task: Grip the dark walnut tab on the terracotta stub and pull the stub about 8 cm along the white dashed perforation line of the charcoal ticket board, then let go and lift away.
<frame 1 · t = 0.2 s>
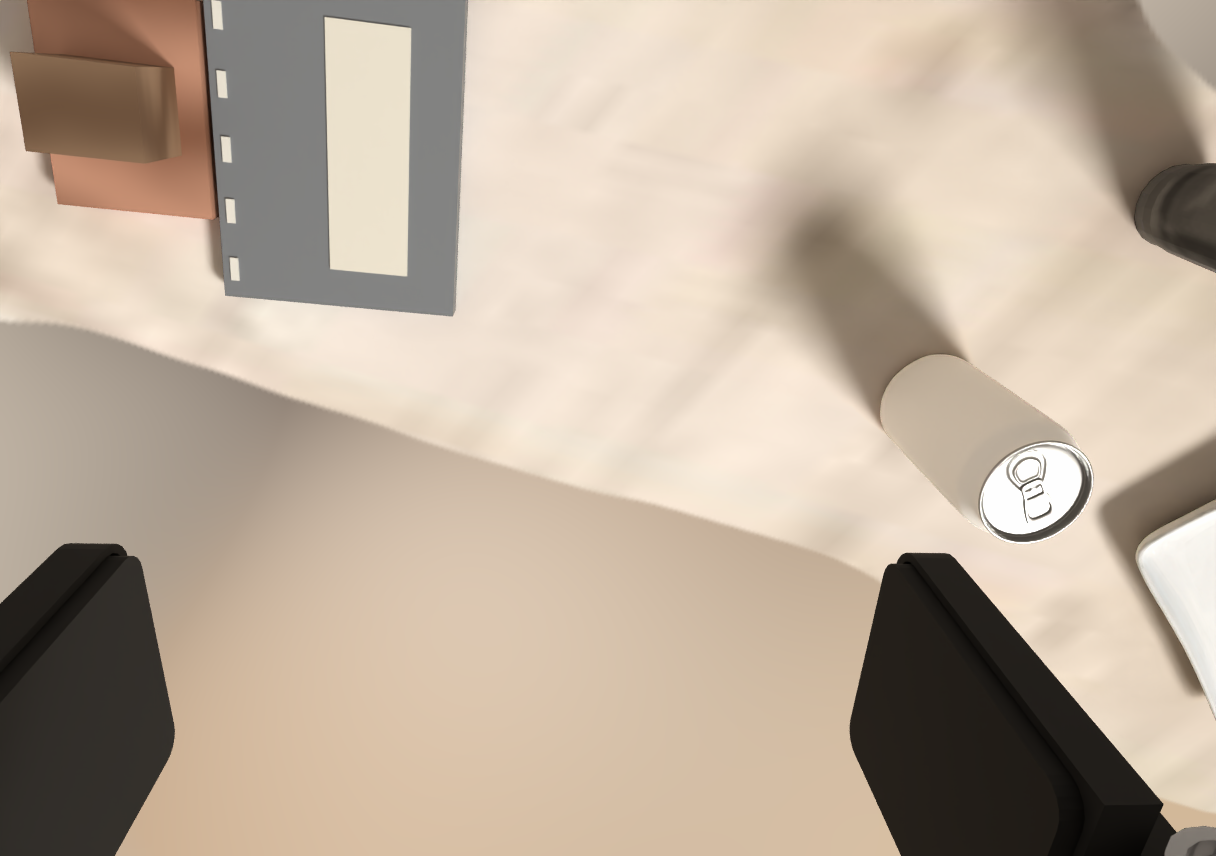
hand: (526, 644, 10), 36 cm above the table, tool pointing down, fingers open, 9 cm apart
ticket board: (343, 128, 41), on the table
can: (927, 400, 50), on the table
stub: (109, 107, 37), point 3 cm above the table, slide at 0.0 cm
beverage cup: (1171, 205, 46), on the table
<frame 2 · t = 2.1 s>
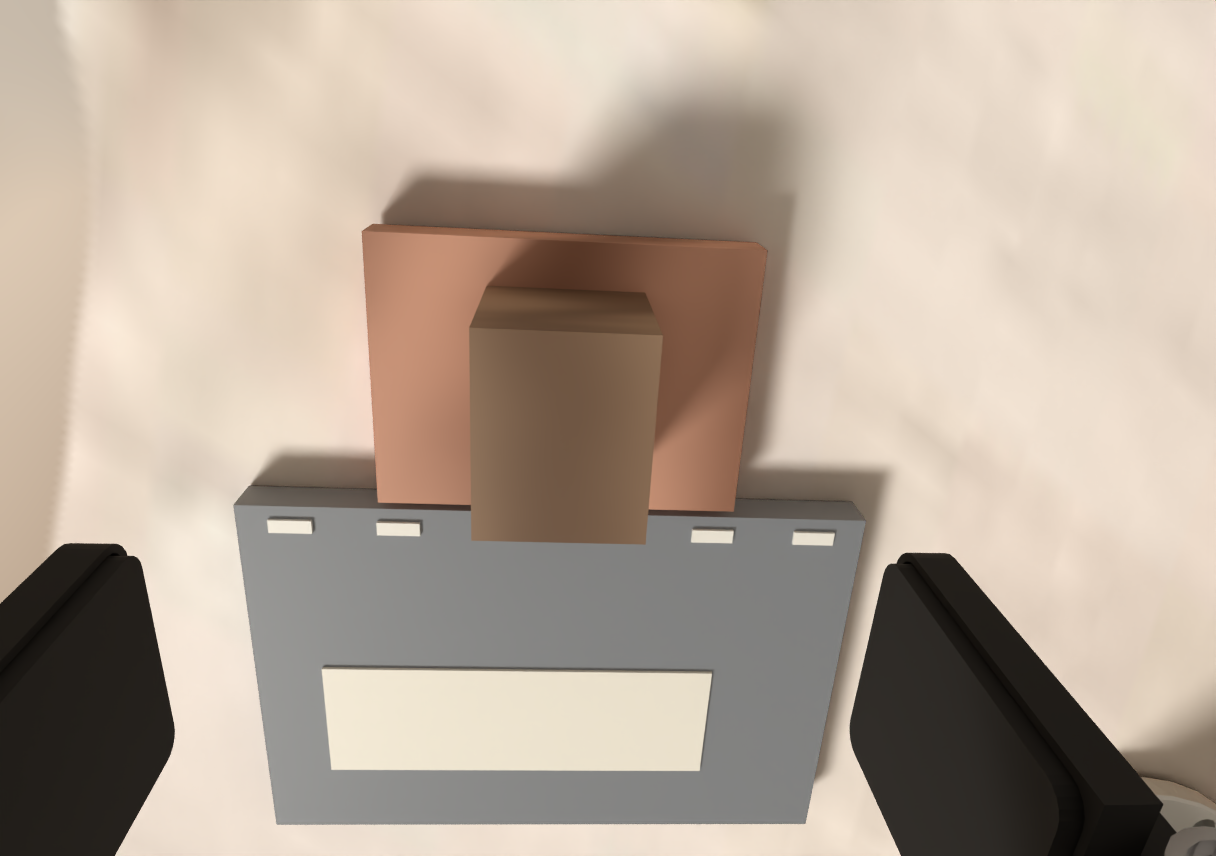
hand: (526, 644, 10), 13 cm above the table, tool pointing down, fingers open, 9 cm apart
ticket board: (552, 657, 26), on the table
stub: (562, 401, 20), point 3 cm above the table, slide at 0.0 cm
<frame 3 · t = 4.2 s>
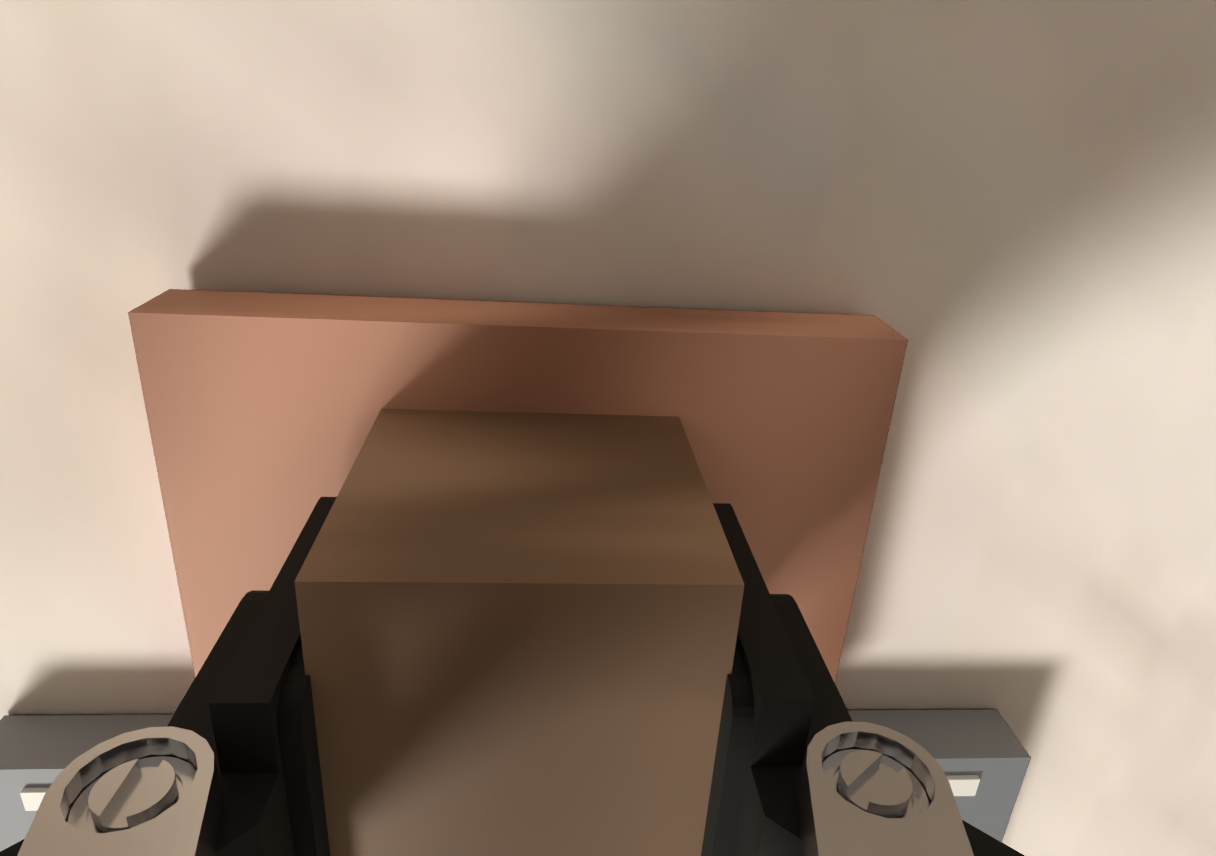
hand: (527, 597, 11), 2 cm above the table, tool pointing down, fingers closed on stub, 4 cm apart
stub: (526, 629, 11), point 3 cm above the table, slide at 0.0 cm, touching gripper
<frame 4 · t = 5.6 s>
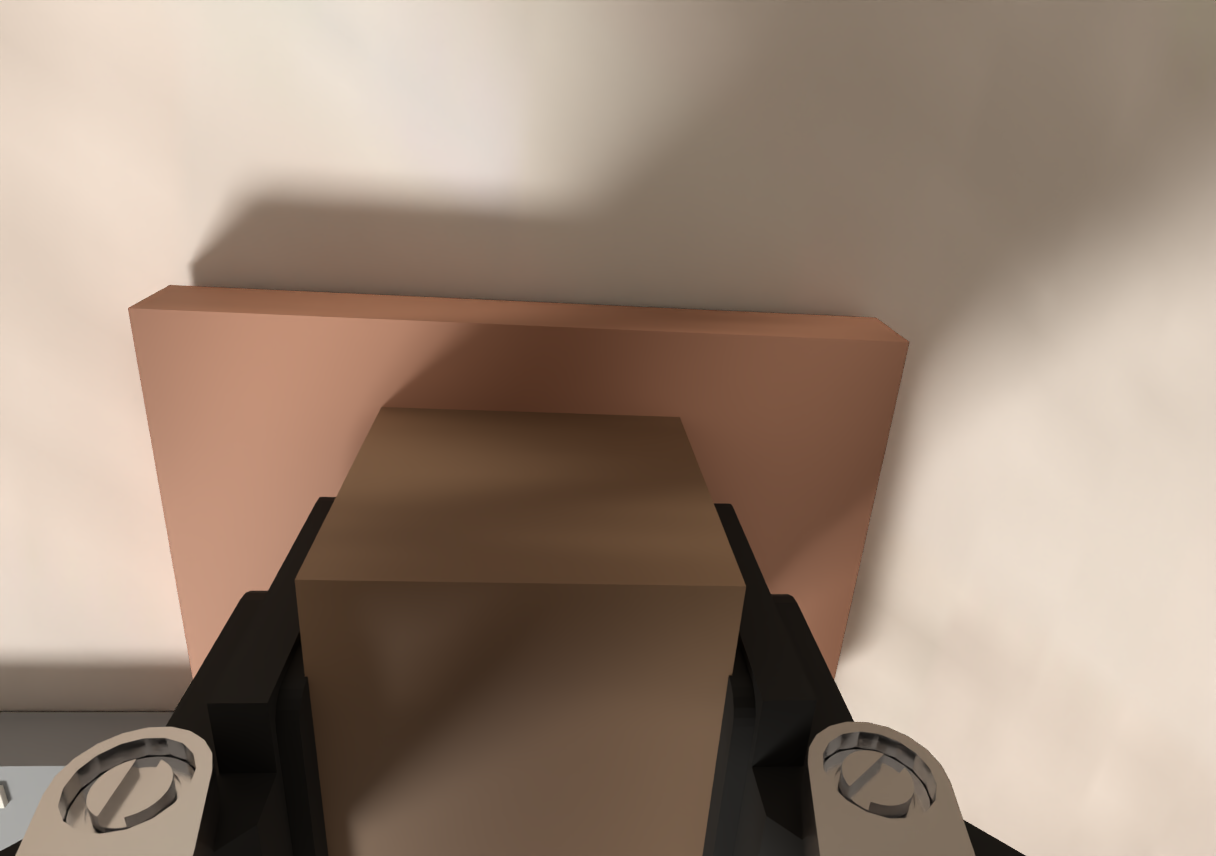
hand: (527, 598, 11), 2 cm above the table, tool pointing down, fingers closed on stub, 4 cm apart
stub: (525, 629, 11), point 3 cm above the table, slide at 4.4 cm, touching gripper
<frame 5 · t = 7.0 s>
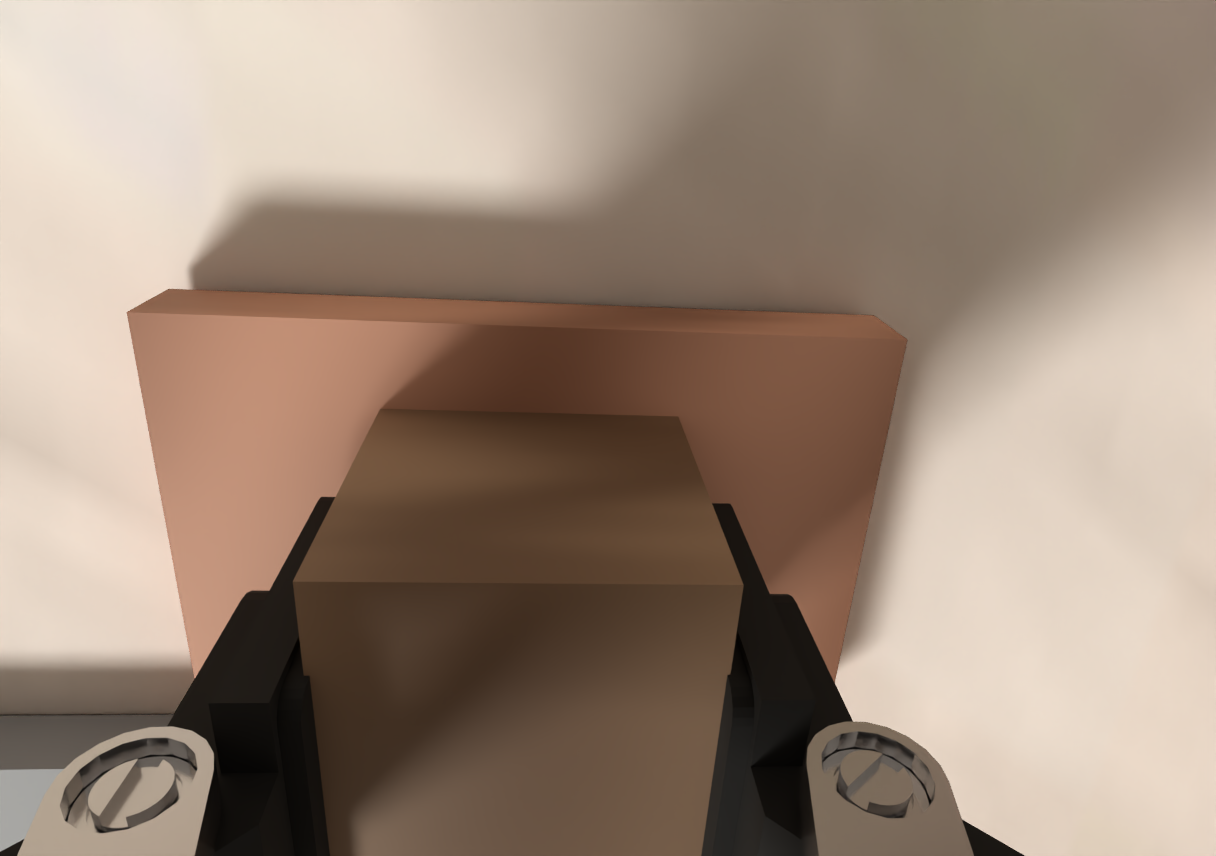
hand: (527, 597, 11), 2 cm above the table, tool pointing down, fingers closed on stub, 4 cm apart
stub: (526, 629, 11), point 3 cm above the table, slide at 8.5 cm, touching gripper
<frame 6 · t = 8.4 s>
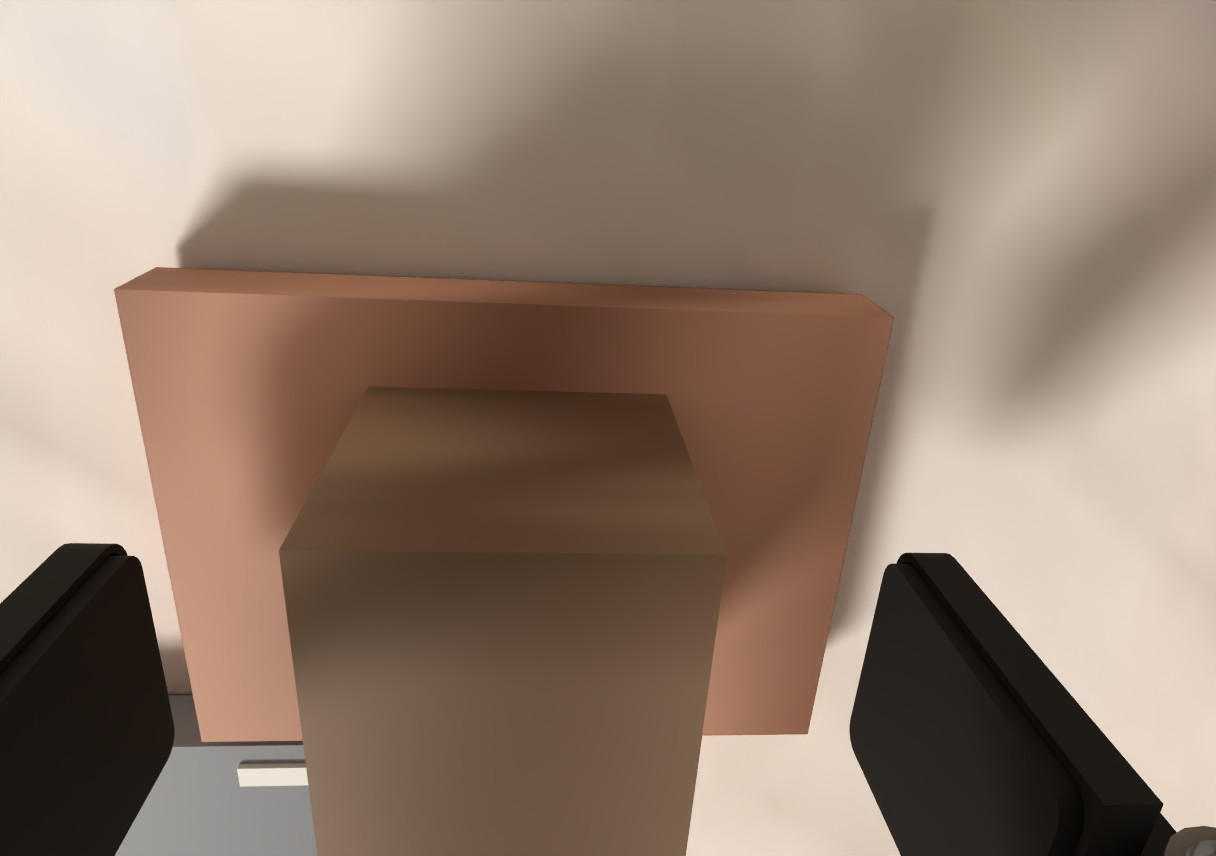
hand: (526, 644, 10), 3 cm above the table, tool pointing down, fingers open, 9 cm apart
stub: (514, 605, 11), point 3 cm above the table, slide at 8.5 cm
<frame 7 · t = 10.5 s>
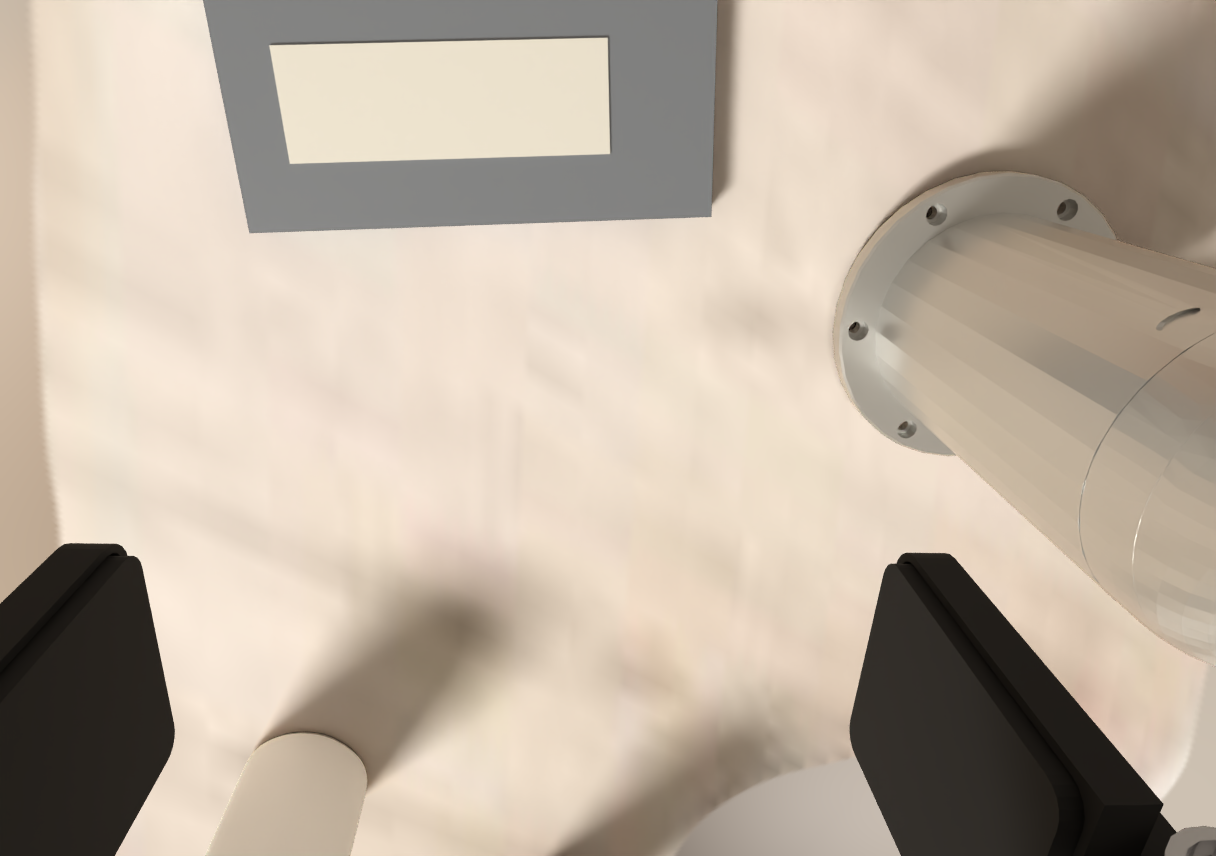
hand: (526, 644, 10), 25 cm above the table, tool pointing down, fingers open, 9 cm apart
ticket board: (472, 57, 30), on the table
can: (309, 769, 44), on the table
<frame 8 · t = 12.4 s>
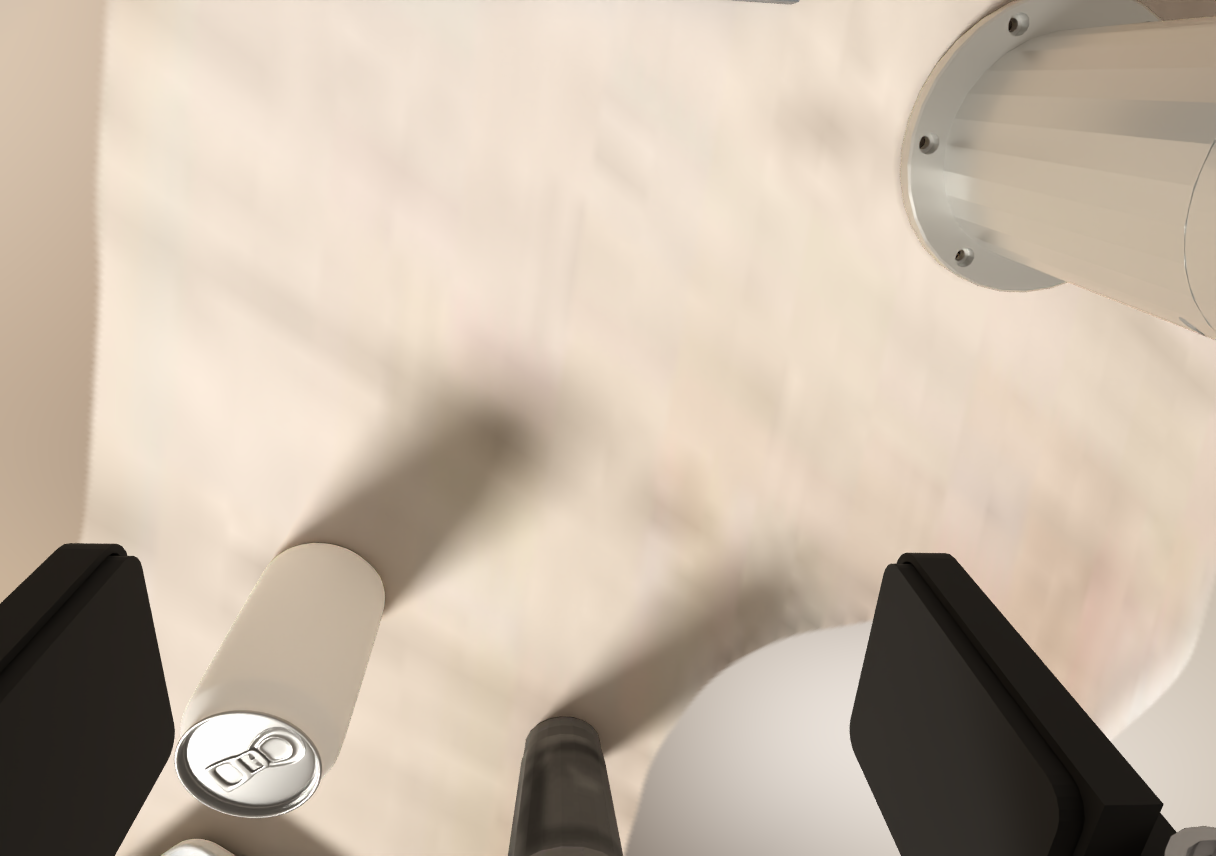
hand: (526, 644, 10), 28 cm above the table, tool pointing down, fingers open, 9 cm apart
can: (326, 588, 43), on the table
beverage cup: (562, 743, 48), on the table
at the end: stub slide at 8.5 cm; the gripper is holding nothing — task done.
